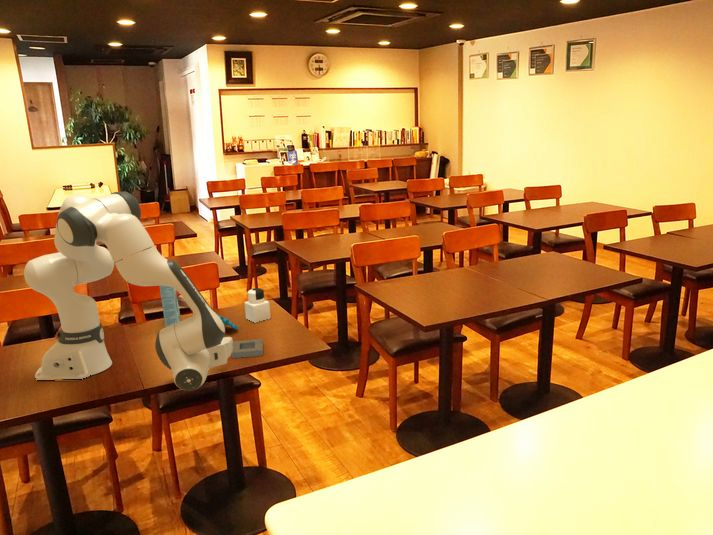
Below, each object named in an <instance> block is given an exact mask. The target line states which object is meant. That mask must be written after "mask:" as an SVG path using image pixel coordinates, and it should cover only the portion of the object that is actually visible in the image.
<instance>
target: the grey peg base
mask: <svg viewBox="0 0 713 535" xmlns="http://www.w3.org/2000/svg"><path fill="white" fill-rule="evenodd" d="M263 341H264V340H263V338H257V339H245V340H235V341H233V351H232V353H231V355H230V356H231V359H232V358H233V359H240V358H241V357H243V358H249V357H250V358H251V357H261V356H263V355H264V354H263V352H264V350H263V349H264V342H263ZM254 347H255V348H254ZM241 359H242V358H241Z"/></svg>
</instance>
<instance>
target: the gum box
mask: <svg viewBox="0 0 713 535" xmlns="http://www.w3.org/2000/svg"><path fill="white" fill-rule="evenodd" d="M159 290H160V298H161V300H160V301H161V306H162V313H163V319H164V324H165V325H164V326H165V327H164V328H166V327H168V326H170V325H172V324H175V323H178V322H180V321H181V313H180V306H179V300H178V299H179V298H178V291H177V290H176V289H174V288H172V287H170V286H159Z"/></svg>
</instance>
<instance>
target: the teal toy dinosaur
mask: <svg viewBox="0 0 713 535" xmlns="http://www.w3.org/2000/svg"><path fill="white" fill-rule="evenodd" d="M216 314H217V315H218V316H219V317H220V319H221V320H222V322H223V324H224V327H225V328H227V327H228V326H229V327H230V328H233V329H234V330H239V326H238V325H236V324H235V323H233V322H231V321H230V319H228V318H225V317H223V316H222V315H219V314H218V313H216ZM227 325H228V326H227Z"/></svg>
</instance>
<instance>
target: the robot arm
mask: <svg viewBox="0 0 713 535" xmlns="http://www.w3.org/2000/svg"><path fill="white" fill-rule="evenodd" d="M141 217H142V208H141V205H140V203H139V201H138V200H137V198H136V197H135V196H134V195H133V194H131V193H130V192H128V191H116V192H114V191H113V192H111V193H109V194H105V195H100V196H96V197H93V198H92V197H90V196H89V195H87V194H80V193H75V194H72V195H69V196H68V197H66V198H65V199H64V200H63V202H62V204H61V206H60V208H59V211H58V215H57V217H56V224H55V230H54V231H55V232H54V240H53V242H54V245H55V246H54V247H55V248H56V250H57V252H54V253H50V254H44V255H41V256H40V255H39V257H35V258H32V259H30V260H28V261H27V263H26V265H25V266H24V269H23V278H24V281H25V283H26V284H27V285H28V286H29V288H31V289H32V290H34V291H35V292H38V293H40V294H43V295H44V296H46V297H47V298H48V299H49V300H50V301H51V302H52V303H53V305H54V306H55V308H56V309H57V310H56V311H57V313H58V317H59V320H60V324H61V325H60V327H59V328H58V331H56V334H54V338H55V340H57V341H56V342H55V343H54V344H53V345H52V346H51V347H50V348H49V349H48V350H47V351H46V352H45V353H44V354H43V356H42V359H41V366H40V367H39V368H38V370H36V372H35V374H34V379H35V378H36V379H37V380H50V379H82V380H84V379H83V378H85V379H87V378H88V377H90V375H91V376H93V375H96V374H99V373H101V372H104V371H105V370H108V369H109V368H110V367H111V366H112V365H113V361H112V359H111V357H110V355H109V353H108V350H107V347H106V344H105V334H104V329H103V325H102V323H101V322H100V321H101V320H100V315H99V310H98V304H97V302H96V300H95V299H94V298H93V297H91V296H89V295H88V294H87V295H86V294H81V293H77V292H75V288H74V287H75V286H79V285H84V284H87V283H88V284H89V283H92V282H97V281H99V280H102V279H104V278H106V277H108V276H110V275H111V274H112V273H113V270H114V267H116V269H117V271H118V272H119V275H120V276H121V277H122V279H123V280H124V281H126V282H128V283H129V284H131V285H135V286H138V287H155V286H156V287H157V286H159V287H160V286H170V287H172V288H174V289H176V291H177V293H179V295H180V296H181V298H182V299H183V300H184V302H185V303H186V304H187V306H188V307H189V309H190V310H191V311H192V312H193V315H192V316H190V317H187V318H184V319H182V320H180V322H178V323H175V324H172V325H170V326H168V327H163V328H162V329H159V331H158V332H157V334H156V338H155V343H154V348H155V351H156V355H157V357H158V359H159V360H160V362H161V364H162V365H163V366H165V368H168V370H170V371H172V377H173V381H174V384H175V385H176V387H178V388H179V389H180V390H182V391H187V392H189V391H190V392H191V391H195V390H197V389H199V388H200V387H202V386H203V384H204V383H205V381H206V380H207V377H208V375H209V370H210V369H213V368H216V367H219V366H223V365H226V364H228V358H230V357H231V356H232V355H231V353H232V351H233V337H231V336H225V335H226V327H224V324H223V322H222V320H221V319H220V317H219V316H218V315H219V314H218V313H216V312H215V310H214V309H213V308H212V307H211V305H210V304H209V303H208V302H207V300H206V298H204V296H203V295H202V293H201V292H200V290H199V289H198V288H197V286H196V285H195V284H194V282H193V281H192V279H191V278H190V277H189V275H188V274H187V273H186V271H185V270H184V268H183V267H181V265H180V264H179V263H178V262H176V261H175V260H173V259H167V257H164V256H163V255H162V254H161V252H159V250H158V249H157V247H156V246H155V244H154V242H153V240H152V238H151V236H150V234H149V232H148V231H147V229H146V228H145V226H144V224H142V222H141ZM97 242H100V243H103V244H104V245H105V246H106V247H107V248H106V247H104V246H100V245H98V244H97ZM217 314H218V315H217ZM86 377H87V378H86ZM36 379H35V380H36ZM37 380H36V381H37Z"/></svg>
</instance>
